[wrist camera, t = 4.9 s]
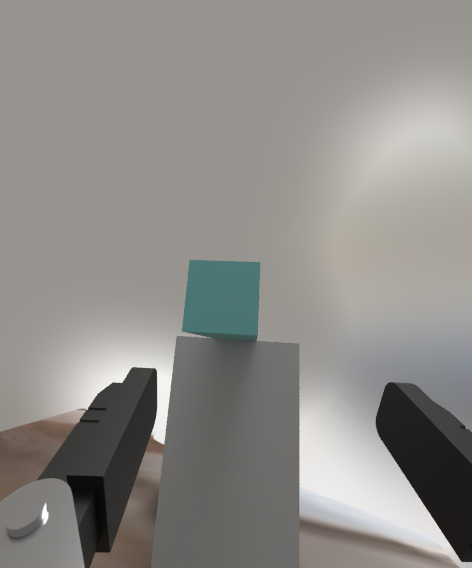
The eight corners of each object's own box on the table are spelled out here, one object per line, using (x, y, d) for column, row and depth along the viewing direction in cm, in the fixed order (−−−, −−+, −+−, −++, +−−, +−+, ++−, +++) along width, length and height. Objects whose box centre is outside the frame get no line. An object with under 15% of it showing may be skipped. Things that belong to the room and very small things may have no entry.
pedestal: (318, 849, 16) (312, 344, 24) (98, 858, 16) (164, 334, 23) (267, 589, 34) (273, 344, 42) (161, 588, 33) (187, 339, 41)
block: (257, 335, 13) (260, 262, 14) (182, 331, 13) (189, 260, 14) (256, 343, 40) (257, 318, 41) (231, 341, 41) (232, 316, 42)
